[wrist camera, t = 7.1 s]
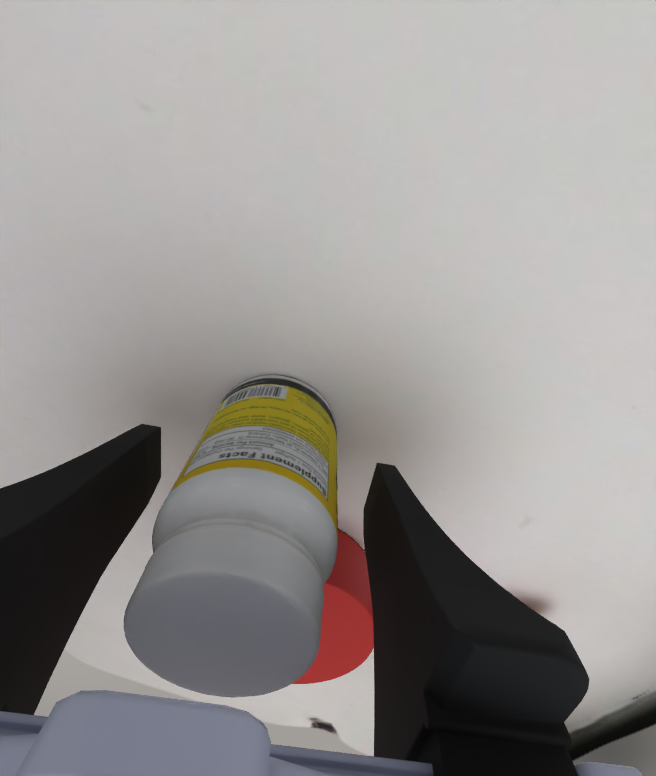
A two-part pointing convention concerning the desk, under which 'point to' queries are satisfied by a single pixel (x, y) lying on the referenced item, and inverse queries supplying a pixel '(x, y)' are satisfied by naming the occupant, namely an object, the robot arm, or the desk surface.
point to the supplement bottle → (243, 547)
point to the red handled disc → (344, 616)
